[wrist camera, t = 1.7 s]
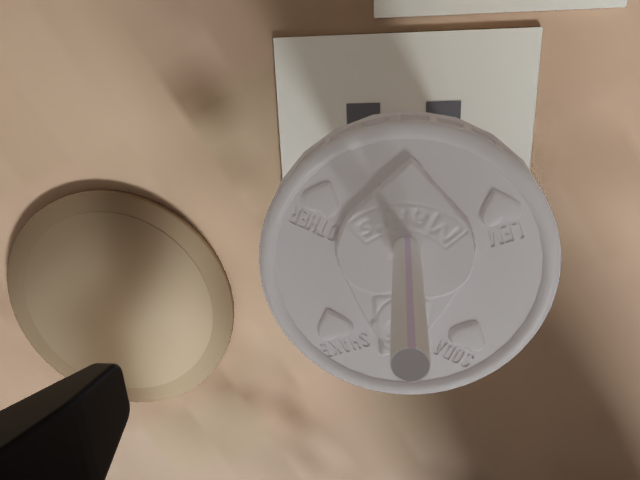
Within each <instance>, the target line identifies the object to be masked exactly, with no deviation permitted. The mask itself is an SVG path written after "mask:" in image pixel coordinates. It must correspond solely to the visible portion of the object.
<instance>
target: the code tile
mask: <svg viewBox="0 0 640 480" xmlns="http://www.w3.org/2000/svg"><path fill="white" fill-rule="evenodd" d="M542 29H543V27H528V28H504V29H479V30H454V31H429V32H405V33H380V34H355V35H330V36H306V37H281V38H273V43H274V58H275V73H276V88H277V103H278V118H279V133H280V148H281V163H282V179H283V178H284V177H285V175H286V174H287V173H288V172H289V170H290V169H291V168H292V166H293V165H294V164H295V163H296V161H297V160H298V159H299V158H300V156H301V155H302V154H303V153H304V151H306V150H307V149H309V148H310V147H311V146H313V145H314V144H315V143H317V142H318V141H320V140H321V139H322V138H324V137H325V136H326V135H328V134H329V133H331V132H332V131H333V130H335V129H336V128H339V127H342V126H344V125H347V124H350V123H352V122H355V121H358V120H360V119H363V118H365V117H368V116H371V115H373V114H383V113H393V112H403V111H413V110H416V111H422V112H428V113H434V114H440V115H446V116H452V117H457V118H459V119H461V120H463V121H465V122H467V123H470V124H472V125H474V126H476V127H478V128H480V129H483V130H485V131H487V132H489V133H491V134H493V135H494V136H496V137H497V138H498V139H499V140H500V141H501V142H503V143H504V144H505V145H506V146H507V147H508V148H509V149H511V150H512V151H513V152H514V153H515V154H516V155H518V156H519V157H520V158H521V159H522V160H523V161H524V162H525V164H526V165H527V167H528V169H529V170H530V160H531V149H532V138H533V127H534V117H535V106H536V95H537V84H538V73H539V62H540V51H541V40H542Z"/></svg>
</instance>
